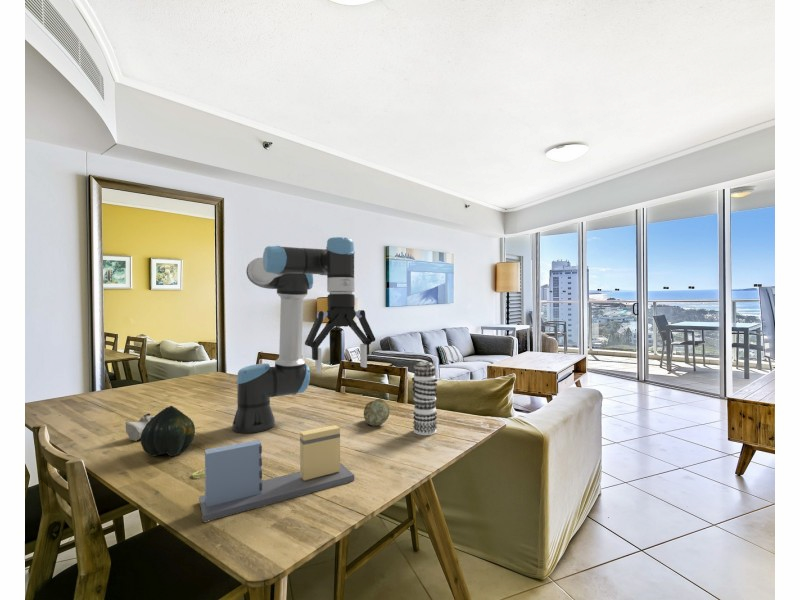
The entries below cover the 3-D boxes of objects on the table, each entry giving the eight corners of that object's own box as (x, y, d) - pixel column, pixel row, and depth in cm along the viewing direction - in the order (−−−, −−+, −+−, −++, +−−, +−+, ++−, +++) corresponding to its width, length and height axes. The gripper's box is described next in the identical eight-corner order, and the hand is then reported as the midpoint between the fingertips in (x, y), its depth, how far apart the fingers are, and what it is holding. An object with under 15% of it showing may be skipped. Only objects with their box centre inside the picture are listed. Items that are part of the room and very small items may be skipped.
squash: (156, 449, 112) (184, 402, 122) (121, 445, 117) (150, 400, 127) (189, 467, 122) (213, 422, 131) (155, 462, 127) (180, 419, 137)
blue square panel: (206, 507, 88) (206, 454, 88) (205, 501, 90) (204, 449, 90) (262, 492, 94) (261, 443, 94) (259, 487, 97) (258, 439, 97)
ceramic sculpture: (120, 414, 136) (165, 407, 148) (118, 439, 136) (164, 430, 148) (132, 420, 130) (179, 412, 142) (130, 446, 129) (177, 436, 141)
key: (228, 482, 104) (228, 474, 104) (187, 479, 106) (187, 471, 106) (244, 471, 111) (244, 463, 111) (205, 468, 113) (205, 461, 113)
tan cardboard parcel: (303, 480, 99) (303, 435, 100) (300, 476, 102) (299, 431, 102) (340, 471, 105) (339, 428, 105) (336, 467, 107) (335, 424, 107)
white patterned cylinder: (430, 437, 135) (429, 365, 135) (407, 432, 140) (407, 363, 140) (442, 429, 143) (441, 362, 143) (420, 425, 148) (419, 360, 148)
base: (203, 522, 84) (203, 515, 84) (199, 502, 93) (199, 496, 93) (354, 480, 103) (354, 474, 103) (339, 467, 112) (339, 461, 112)
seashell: (391, 419, 156) (391, 394, 156) (388, 428, 145) (387, 402, 145) (365, 418, 157) (365, 394, 157) (360, 428, 146) (359, 401, 146)
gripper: (301, 293, 99) (302, 376, 99) (386, 293, 112) (387, 366, 112) (292, 293, 105) (293, 372, 105) (374, 293, 118) (374, 363, 118)
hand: (341, 369), depth 108 cm, fingers open, 13 cm apart
